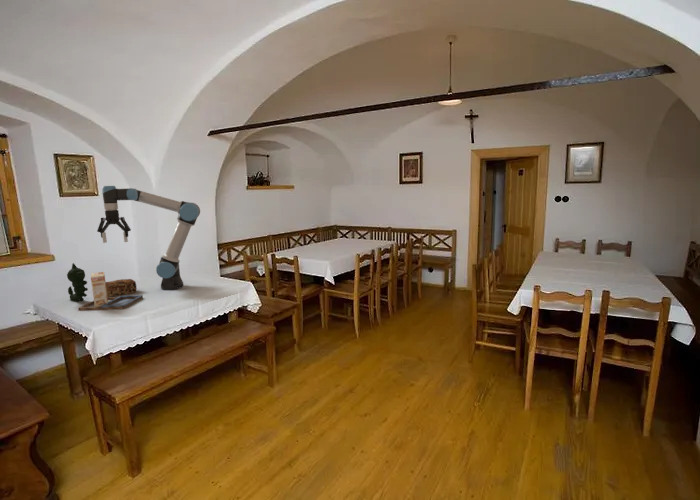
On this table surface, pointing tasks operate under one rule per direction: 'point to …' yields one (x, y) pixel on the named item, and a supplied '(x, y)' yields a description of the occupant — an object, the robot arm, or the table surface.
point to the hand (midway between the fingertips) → (115, 242)
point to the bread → (120, 287)
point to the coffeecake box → (99, 289)
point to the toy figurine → (77, 283)
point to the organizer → (114, 303)
